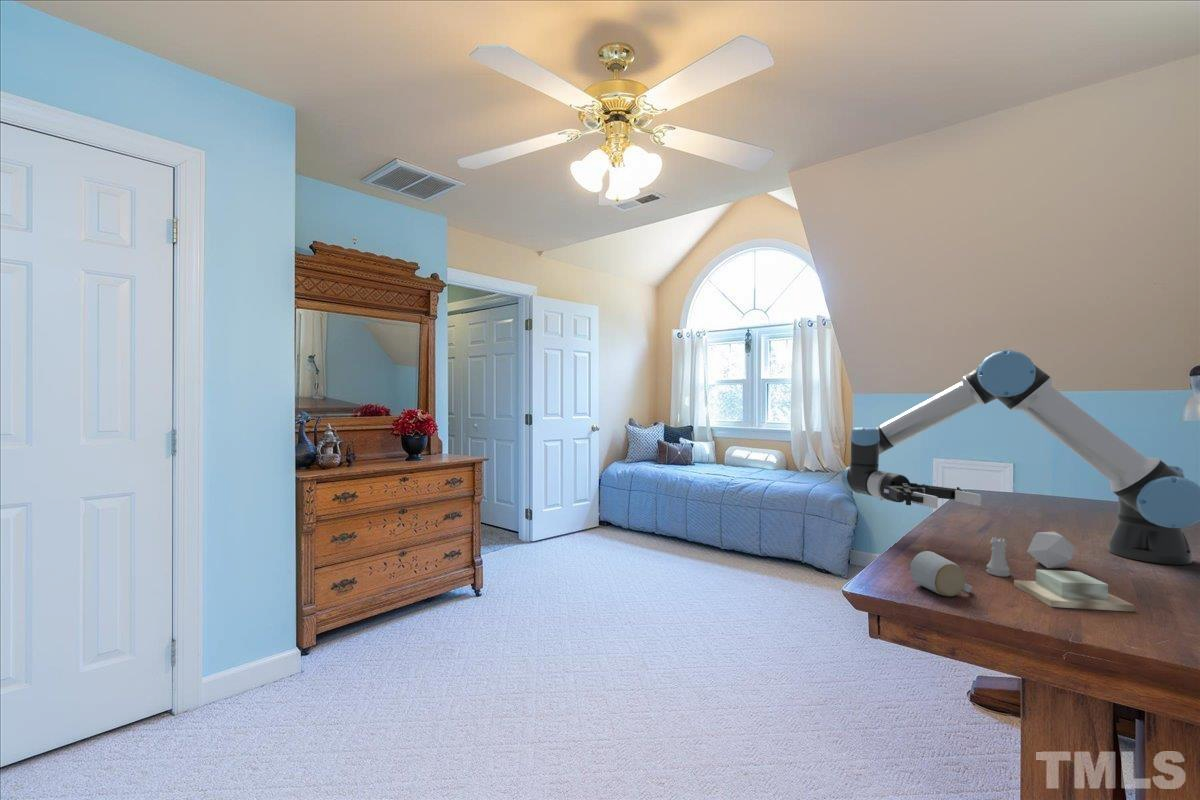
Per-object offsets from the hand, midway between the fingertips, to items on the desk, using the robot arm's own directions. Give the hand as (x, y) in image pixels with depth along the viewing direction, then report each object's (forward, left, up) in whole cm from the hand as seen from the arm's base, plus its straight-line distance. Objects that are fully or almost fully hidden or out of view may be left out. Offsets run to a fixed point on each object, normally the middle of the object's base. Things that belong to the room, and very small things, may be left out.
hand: (958, 501), depth 136 cm
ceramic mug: (+13, +23, -15) cm, 30 cm away
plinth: (-10, +23, -14) cm, 29 cm away
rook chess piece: (-4, +9, -15) cm, 18 cm away
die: (-20, 0, -15) cm, 25 cm away
